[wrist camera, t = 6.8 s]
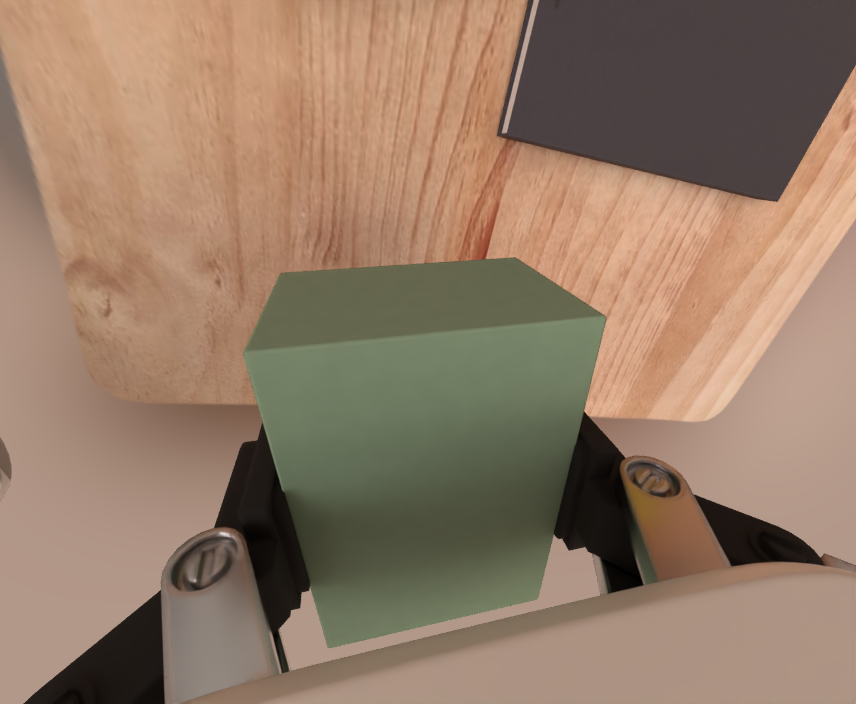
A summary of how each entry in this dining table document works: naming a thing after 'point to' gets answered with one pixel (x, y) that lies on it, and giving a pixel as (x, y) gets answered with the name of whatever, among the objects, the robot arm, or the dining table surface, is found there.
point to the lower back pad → (422, 433)
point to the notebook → (682, 85)
